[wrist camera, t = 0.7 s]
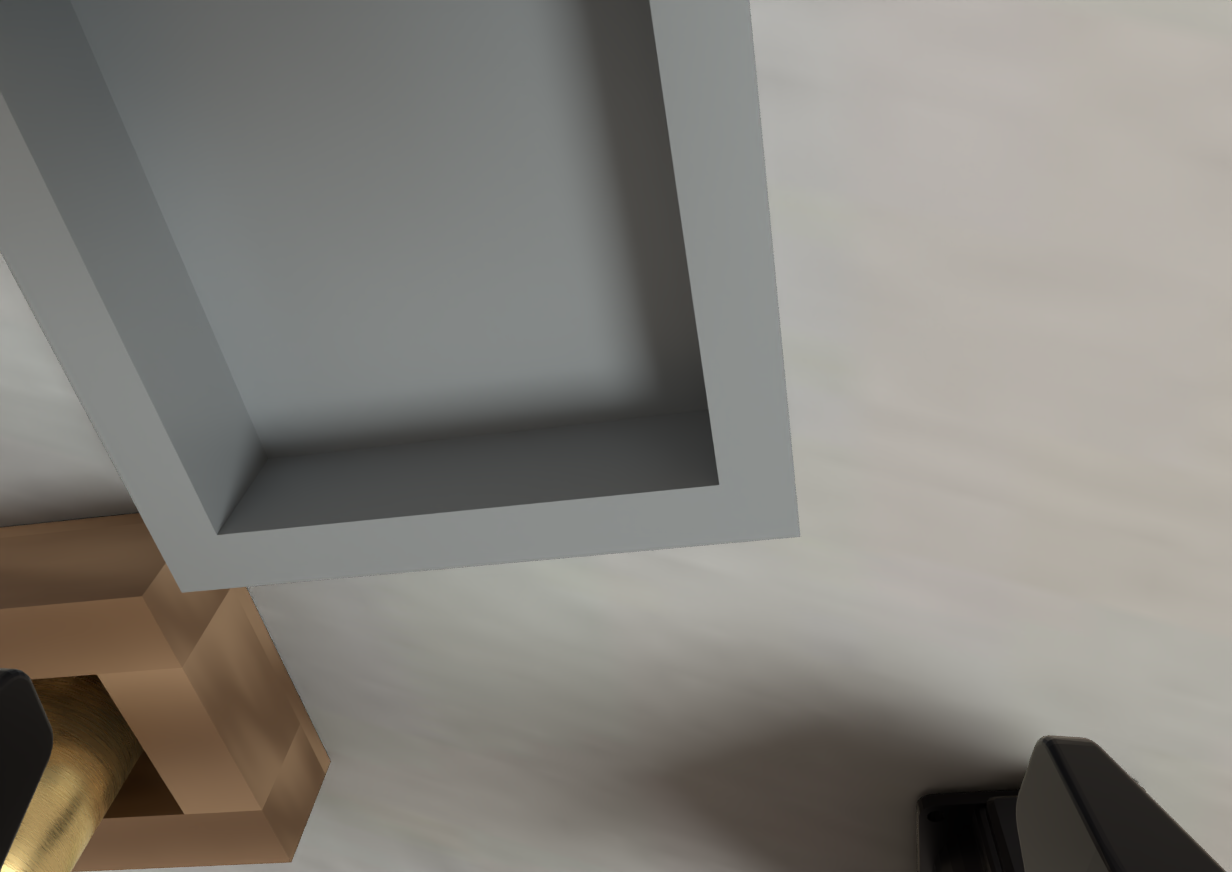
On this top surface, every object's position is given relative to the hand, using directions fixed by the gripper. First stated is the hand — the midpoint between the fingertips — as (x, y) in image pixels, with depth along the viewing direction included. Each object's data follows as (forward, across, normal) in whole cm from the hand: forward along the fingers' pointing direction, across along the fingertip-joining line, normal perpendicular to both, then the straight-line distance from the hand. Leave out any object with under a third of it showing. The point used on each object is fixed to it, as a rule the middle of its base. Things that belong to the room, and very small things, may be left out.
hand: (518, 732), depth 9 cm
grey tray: (+14, +4, 0) cm, 14 cm away
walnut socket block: (+14, +15, +14) cm, 25 cm away
